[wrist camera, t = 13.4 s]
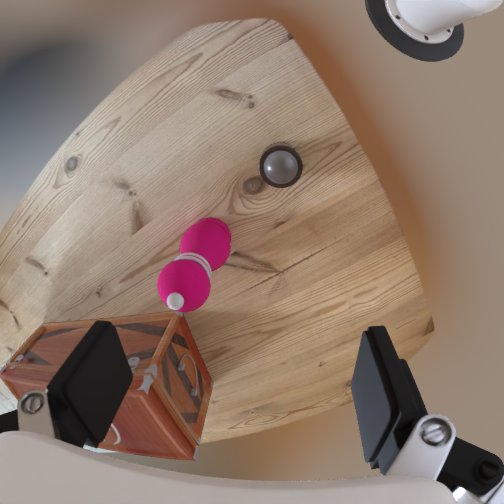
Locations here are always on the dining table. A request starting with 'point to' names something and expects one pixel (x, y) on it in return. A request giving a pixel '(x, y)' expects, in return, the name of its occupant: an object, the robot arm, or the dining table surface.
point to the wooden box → (143, 384)
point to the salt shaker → (280, 165)
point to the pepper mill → (194, 265)
